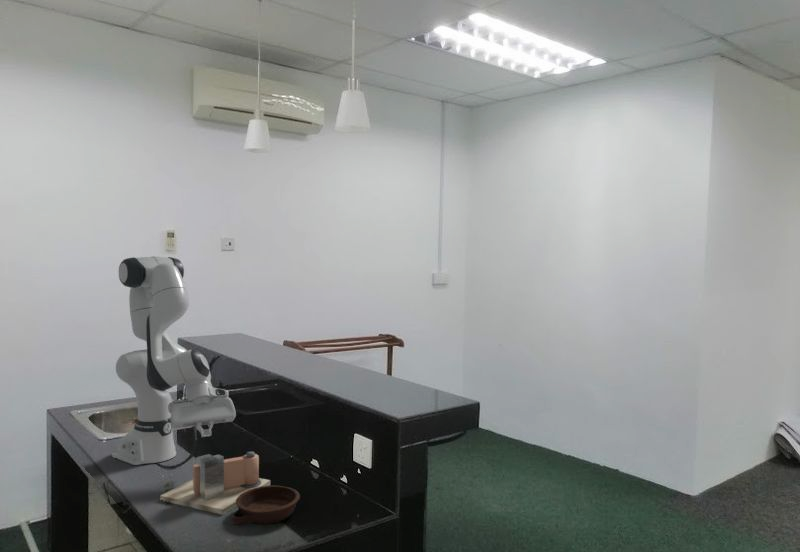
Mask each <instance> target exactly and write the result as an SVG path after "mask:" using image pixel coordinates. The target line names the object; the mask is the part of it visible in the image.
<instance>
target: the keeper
mask: <svg viewBox="0 0 800 552" xmlns="http://www.w3.org/2000/svg"><path fill="white" fill-rule="evenodd" d="M224 458H225V457H224V456H223V455H221V454H216V455H215V454H214V455H212V454H210V453H208V454H204V455H200V456H196V464H198V465H199V466H200V498H202V499H203V500H209V499H212V498H215V497H218V496H221V495H224Z"/></svg>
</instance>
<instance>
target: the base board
mask: <svg viewBox="0 0 800 552" xmlns="http://www.w3.org/2000/svg"><path fill="white" fill-rule="evenodd" d="M261 486H271V480H270V479H266V478H261V477H259V482H258V483H256V484H253V485H245V484H244V485H239V486H234V487H229V488H224V495H221V496H218V497H215V498H212V499H209V500H203V499H202V498H200V493H197V494H195V493H194V491H193V478H192V479H190V480H188V481H186V482H183V483H182V484H180V485H178V486H175V488H172V489H171V490H168V491H166V492H164V493H162V494H160V496H159V499H160V501H161V500H163V501H162V502H165V501H166V502H165V503H169V502H170V504H173V505H178V506H183V507H186V508H187V507H188V508H192V509H196V510H200V511H205V512H209V513H214V514H219V515H221V516H222V515H225V514H227V513H228V512H229V511H231V510H233V509H235V508H236V507H237V505H236V499H237V497H238V496H239V495H241V494H242V493H244V492H246V491H248V490H250V489H253V488H257V487H261Z"/></svg>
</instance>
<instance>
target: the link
mask: <svg viewBox="0 0 800 552" xmlns="http://www.w3.org/2000/svg"><path fill="white" fill-rule="evenodd" d="M259 456H260V455H258V454H257V453H255V452H254V451H247V452H246V454H244V455H242V456H238V457H237V456H236V457H231V458H225V459H224V488H229V487H234V486H239V485H244V484H245V485H253V484H256V483H258V482H259V478H260V475H259V474H260V472H259V470H260V468H259V467H260V465H259V464H260V462H259V461H260V457H259ZM192 479H193V491H194V493H195V494H197V493H200V466H199V465H198V464H197V463H195V464H192Z"/></svg>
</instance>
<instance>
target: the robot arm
mask: <svg viewBox="0 0 800 552" xmlns="http://www.w3.org/2000/svg"><path fill="white" fill-rule="evenodd" d="M184 275H185V269H184V265H183V263H182V262H181V260H180V259H178V258H175V257H171V256H168V257H165V256H154V255H153V256H144V257H133V256H132V257H128V258H124V259H123V260H122V261H121V262H120V264H119V267H118V279H119V281H120V283H121V284H122V285H123V286H124V287H127V288H130V289H129V298H128V299H129V301H128V302H129V303H128V304H129V313H130V322H131V329H132V333H133V336H135V338H138V339H139V340H141V341H142V340H143V341H145V342H146V349H141V350H137V349H136V350H133V351H132V350H131V351H129V352H126V353H123V354H121V355H120V356H119V357H118V359H117V360H116V363H115V372H116V375H117V377H118V378H119V379H120V380H121V381H122V382H123V383H125V384H127V385H128V386H129V387H131V388H130V389H132V391H133V392H134V394H135V398H136V405H137V418H135V419H132V422H131V424H134V426H133V429H131V430H130V431H129V432H128V433H126V434H125V435H124V436H122V437H121V439H120V440H119V441H120V442H119V447H118V449H117V450H115V451H113V452H112V454H111V457H112V458H114V459H116V458H117V460H120V461H122V462H125V463H128V464H130V465H132V466H139V465H144V464H156V463H161V462H165V461H168V460H170V459H171V460H172V458H175V456H177V451H176V448H177V447H176V445H175V441H174V439H175V438H174V432H173V431H174V430H172V428H174V429H176V428H184V427H191V426H192V427H195V428H196V431H198V432H199V433H200V435H201V438H205V437H211V436H212V435H213V434H212V428H213V426H214V424H219V423H220V424H221V423H229V422H230V423H231V422H233V421H234V420H235V419H236V416H237V411H236V408H235V405H234V402H233V400H232V399H231V398H230V397H229V390H227V389H224V388H219V387H218V388H217V387H215V386H213V383H212V381H211V380H212V374H211V370H210V364H209V360H208V358H207V356H206V355H205V354H204V353H203V352H201V351H199V350H197V349H194V348H193V349H188V350H187V349H186V348H185V347H184V346H182V345H180V344H179V343H177V342H176V341H175V340H174V338H173V337H172V335H171V333H170V332H169V330H168V328H169V327H170V326H171V325H174V324H175V323H176V322H177V321H179V320H180V319H181V318H182V317H183V316H184V315H185V314H186V312H187V311H188V308H189V305H190V301H189V300H190V299H189V295H188V290H187V288H186V285H185V281H184ZM181 384H184V386H185V397H186V398H185V399H180V400H172V396H171V394H170V393H169V392H168V391H167V390H169V389H171V388H173V387H175V386H179V385H181ZM206 425H207V427H208V428H206V429H204V428H203V427H202V426H206ZM192 427H191V428H192Z"/></svg>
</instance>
